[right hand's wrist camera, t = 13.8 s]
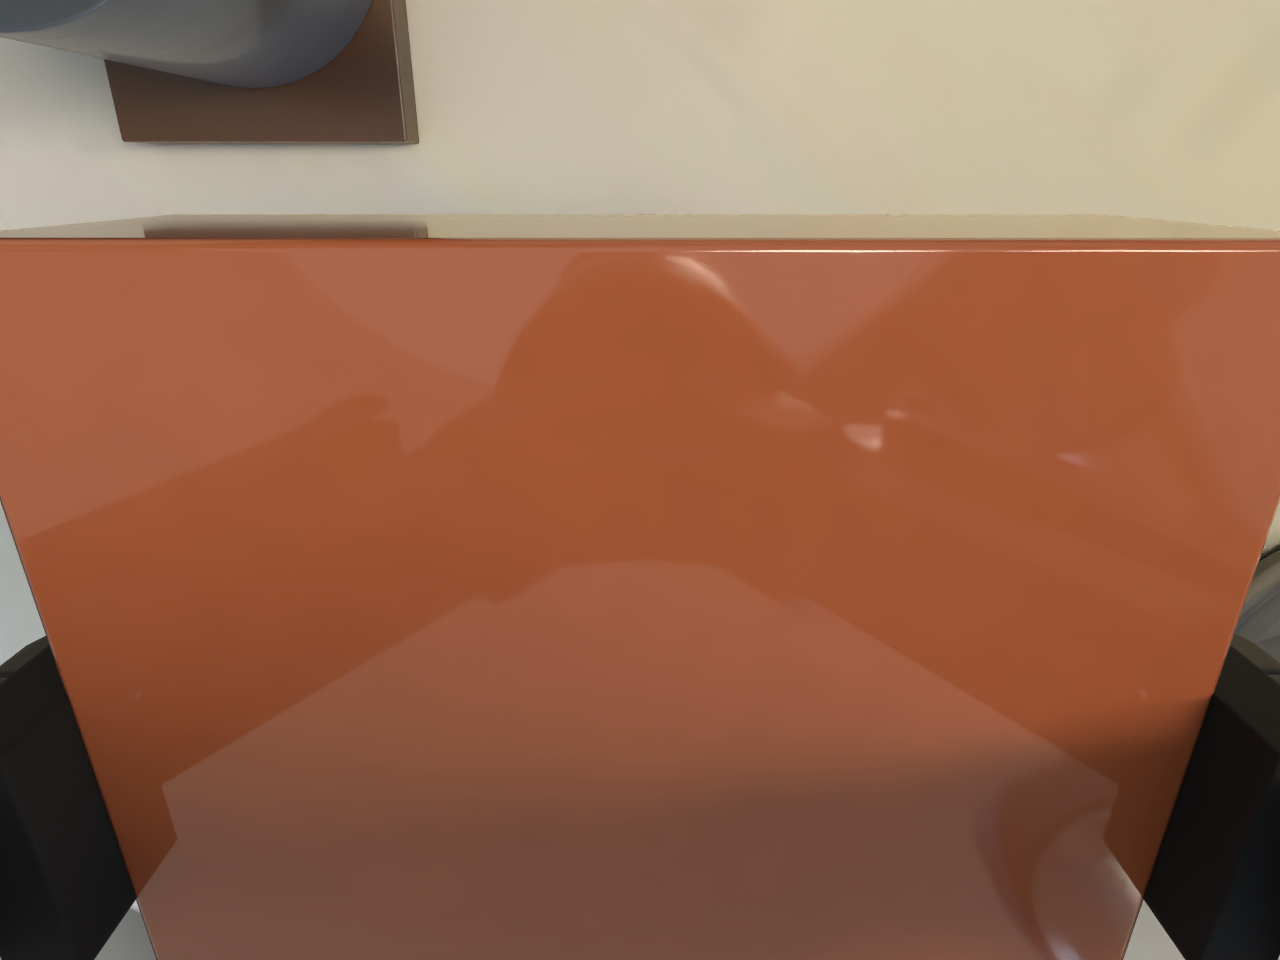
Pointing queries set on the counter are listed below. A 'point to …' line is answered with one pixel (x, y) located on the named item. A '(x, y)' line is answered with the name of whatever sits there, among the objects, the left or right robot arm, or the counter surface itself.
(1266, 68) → the counter surface
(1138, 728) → the orange square block
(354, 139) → the caddy
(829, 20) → the counter surface
